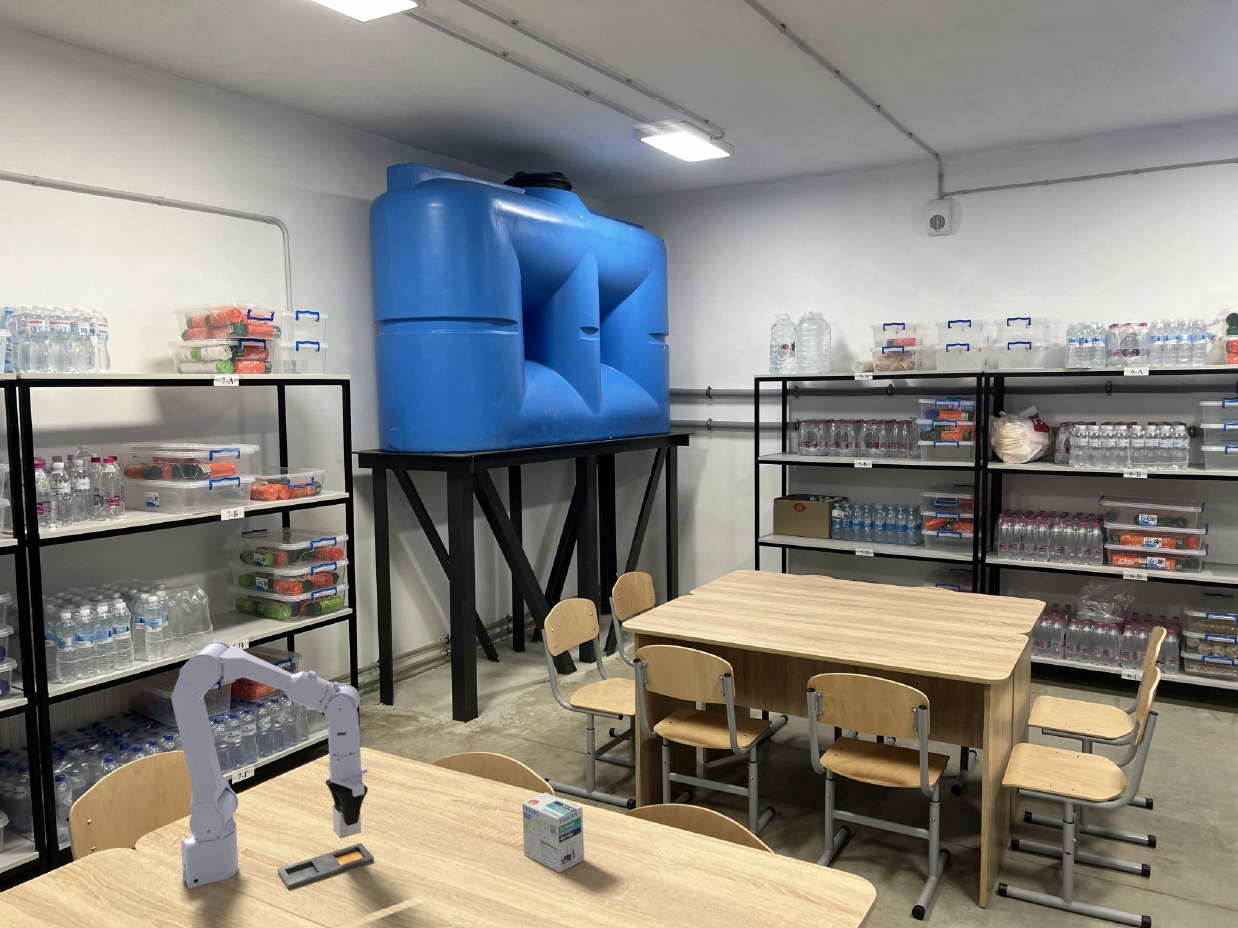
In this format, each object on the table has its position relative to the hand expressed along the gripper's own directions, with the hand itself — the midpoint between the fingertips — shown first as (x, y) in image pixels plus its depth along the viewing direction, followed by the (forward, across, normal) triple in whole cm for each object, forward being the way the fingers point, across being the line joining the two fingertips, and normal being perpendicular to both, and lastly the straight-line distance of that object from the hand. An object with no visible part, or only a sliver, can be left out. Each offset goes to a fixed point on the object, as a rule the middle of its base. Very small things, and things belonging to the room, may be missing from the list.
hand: (347, 819), depth 173 cm
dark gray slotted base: (+9, 0, +4) cm, 10 cm away
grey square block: (+2, 0, 0) cm, 2 cm away
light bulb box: (+9, -22, -32) cm, 40 cm away
